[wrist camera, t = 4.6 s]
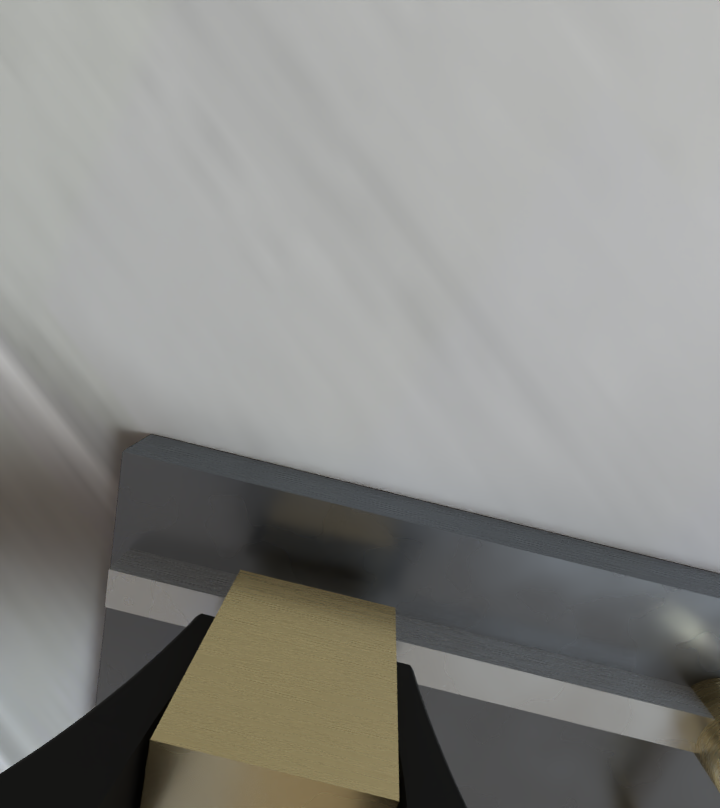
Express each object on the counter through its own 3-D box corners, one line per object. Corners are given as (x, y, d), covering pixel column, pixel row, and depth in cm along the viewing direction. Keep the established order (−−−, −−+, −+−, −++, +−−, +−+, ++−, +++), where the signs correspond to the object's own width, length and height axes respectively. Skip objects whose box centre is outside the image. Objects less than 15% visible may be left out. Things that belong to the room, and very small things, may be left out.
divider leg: (333, 789, 14) (301, 1075, 9) (209, 758, 14) (107, 1027, 9) (395, 584, 12) (399, 800, 7) (251, 549, 12) (150, 739, 7)
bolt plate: (641, 864, 17) (718, 1039, 13) (114, 733, 17) (31, 868, 13) (796, 593, 14) (960, 715, 10) (150, 433, 14) (55, 491, 10)
